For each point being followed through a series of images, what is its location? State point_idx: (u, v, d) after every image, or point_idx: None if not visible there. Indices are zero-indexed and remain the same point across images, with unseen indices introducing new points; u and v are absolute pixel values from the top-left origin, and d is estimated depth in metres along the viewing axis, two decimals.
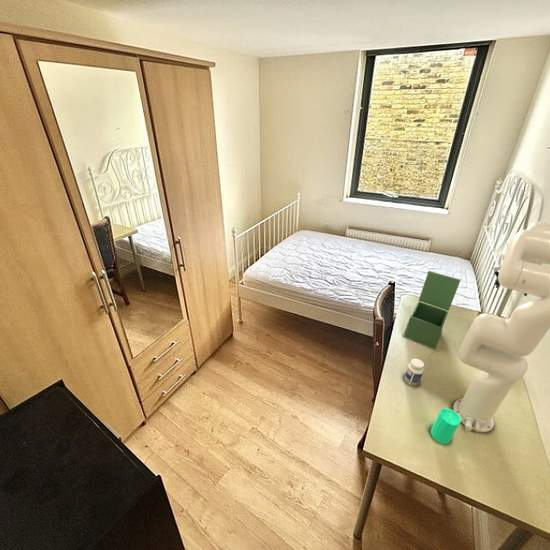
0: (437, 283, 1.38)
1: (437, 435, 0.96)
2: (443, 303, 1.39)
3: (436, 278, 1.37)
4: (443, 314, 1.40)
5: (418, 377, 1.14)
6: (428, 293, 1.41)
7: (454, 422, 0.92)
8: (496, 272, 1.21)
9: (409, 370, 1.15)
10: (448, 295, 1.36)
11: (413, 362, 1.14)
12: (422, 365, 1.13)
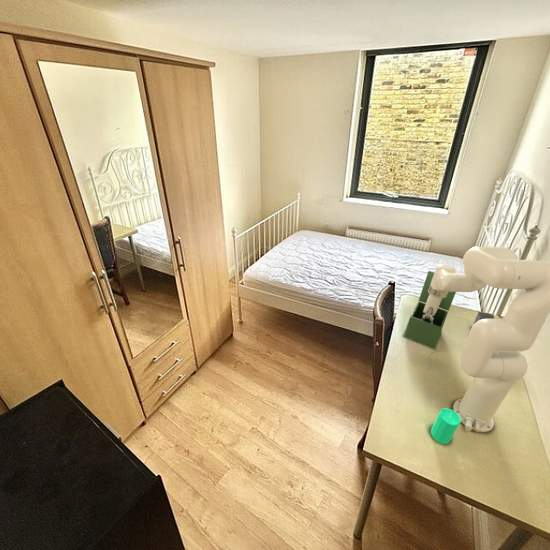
0: None
1: (437, 435, 0.96)
2: (443, 303, 1.39)
3: None
4: (443, 314, 1.40)
5: None
6: (428, 293, 1.41)
7: (454, 422, 0.92)
8: None
9: None
10: (448, 295, 1.36)
11: (424, 316, 1.38)
12: (432, 318, 1.36)
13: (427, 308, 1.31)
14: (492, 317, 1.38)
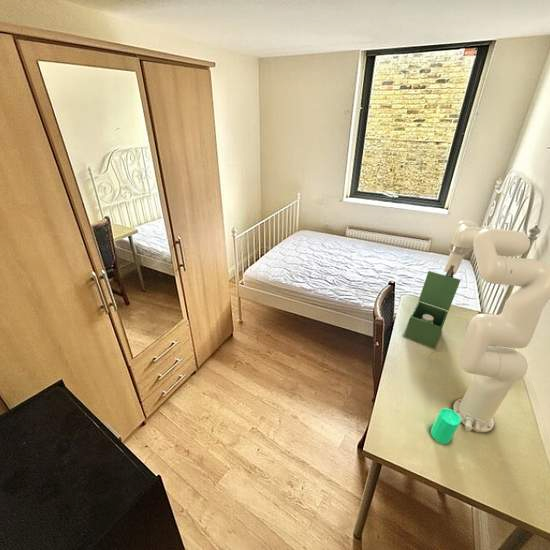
0: (437, 283, 1.38)
1: (437, 435, 0.96)
2: (443, 303, 1.39)
3: (436, 278, 1.37)
4: (443, 314, 1.40)
5: None
6: (428, 293, 1.41)
7: (454, 422, 0.92)
8: None
9: None
10: (448, 295, 1.36)
11: (424, 316, 1.38)
12: (432, 318, 1.36)
13: (448, 266, 1.31)
14: None
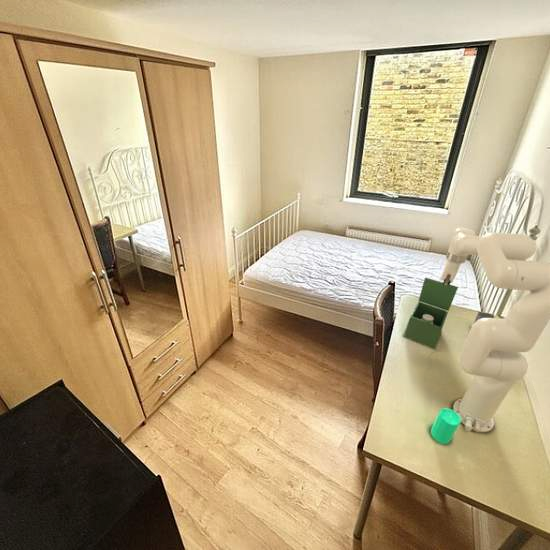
0: (434, 289, 1.35)
1: (437, 435, 0.96)
2: (442, 305, 1.38)
3: (433, 284, 1.34)
4: (443, 314, 1.40)
5: None
6: (427, 296, 1.40)
7: (454, 422, 0.92)
8: None
9: None
10: (447, 299, 1.35)
11: (424, 316, 1.38)
12: (432, 318, 1.36)
13: (445, 275, 1.27)
14: (492, 317, 1.38)
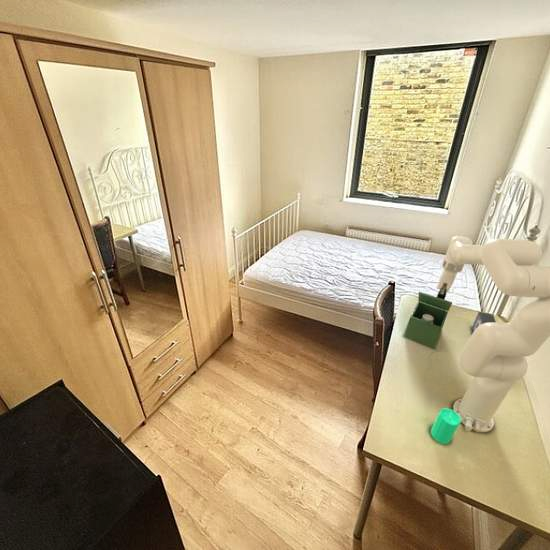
0: (430, 299, 1.33)
1: (437, 435, 0.96)
2: (441, 307, 1.38)
3: (428, 297, 1.32)
4: (443, 314, 1.40)
5: None
6: (425, 301, 1.39)
7: (454, 422, 0.92)
8: None
9: None
10: (444, 306, 1.34)
11: (424, 316, 1.38)
12: (432, 318, 1.36)
13: (441, 284, 1.25)
14: (492, 317, 1.38)
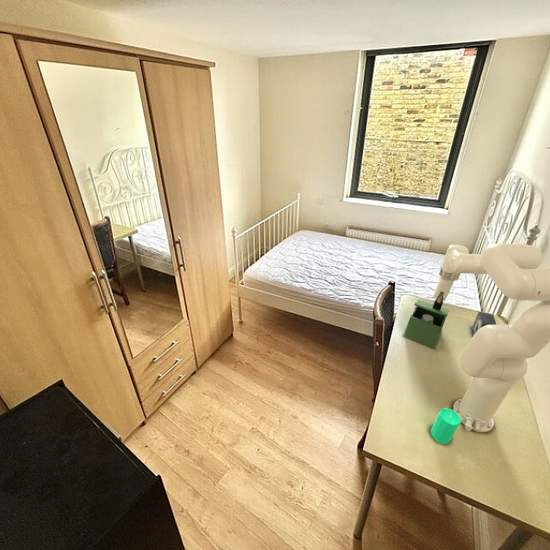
0: None
1: (437, 435, 0.96)
2: (441, 309, 1.38)
3: (424, 307, 1.32)
4: None
5: None
6: (423, 304, 1.40)
7: (454, 422, 0.92)
8: None
9: None
10: (442, 311, 1.34)
11: (424, 316, 1.38)
12: (432, 318, 1.36)
13: (438, 292, 1.24)
14: (492, 317, 1.38)
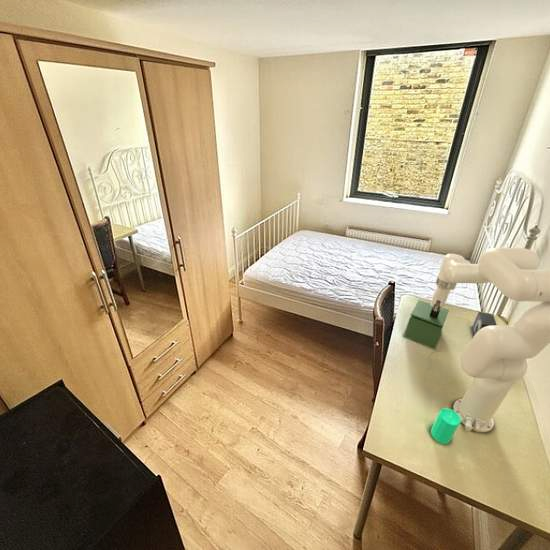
0: None
1: (437, 435, 0.96)
2: None
3: None
4: None
5: None
6: None
7: (454, 422, 0.92)
8: None
9: None
10: None
11: None
12: None
13: (434, 301, 1.24)
14: (492, 317, 1.38)
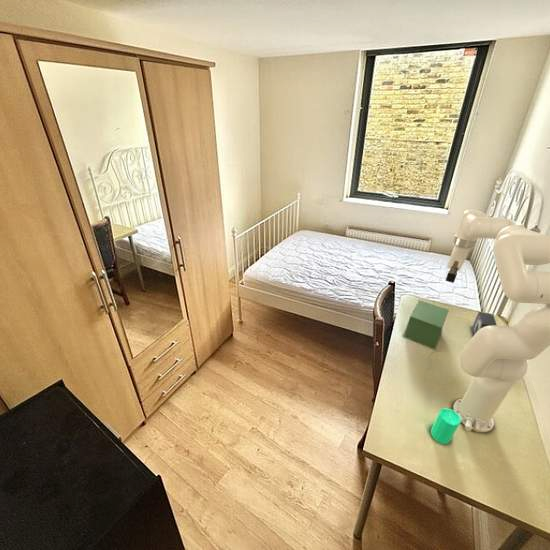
0: None
1: (437, 435, 0.96)
2: None
3: None
4: None
5: None
6: None
7: (454, 422, 0.92)
8: None
9: None
10: None
11: None
12: None
13: (452, 262, 1.17)
14: (492, 317, 1.38)
